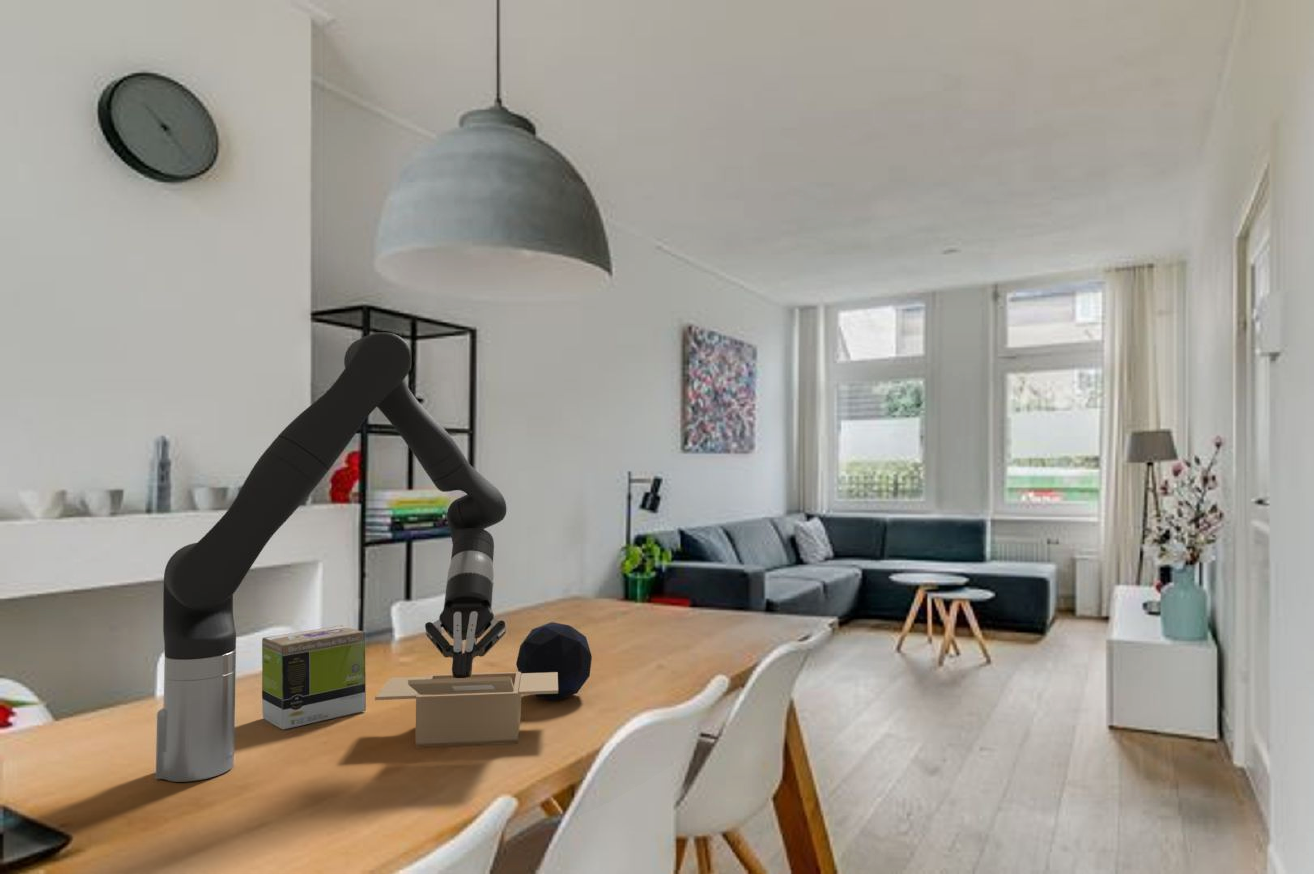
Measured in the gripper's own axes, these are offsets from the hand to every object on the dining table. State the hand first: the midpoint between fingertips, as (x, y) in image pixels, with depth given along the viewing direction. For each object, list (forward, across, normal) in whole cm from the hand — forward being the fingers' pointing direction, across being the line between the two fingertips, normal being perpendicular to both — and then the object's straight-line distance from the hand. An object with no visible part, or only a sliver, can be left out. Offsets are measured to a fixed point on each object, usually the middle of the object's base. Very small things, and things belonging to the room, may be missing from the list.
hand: (461, 678), depth 122 cm
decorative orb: (-15, +14, +34) cm, 40 cm away
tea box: (-11, -29, +30) cm, 43 cm away
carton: (-2, 0, +20) cm, 20 cm away
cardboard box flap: (-3, 0, +9) cm, 10 cm away
